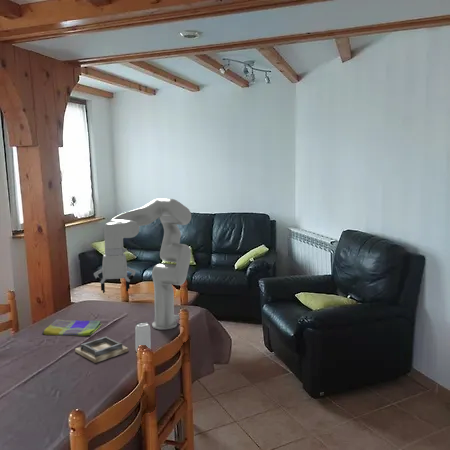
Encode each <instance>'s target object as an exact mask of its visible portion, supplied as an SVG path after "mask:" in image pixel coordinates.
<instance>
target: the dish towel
mask: <svg viewBox="0 0 450 450" xmlns="http://www.w3.org/2000/svg"><path fill="white" fill-rule="evenodd" d="M103 324H104V323H102V322H101V320H77V319H76V320H73V319H72V320H71V319H70V320H69V319H68V320H66V319H59V318H56V319H55V320H54V321H53V322H52V323H50V324H49V325H48V326H47V327H45V328H44V329H43V331H42V334H43V335H46V336H47V335H48V336H65V337H66V336H68V337H73V336H74V337H84V336H85V337H86V336H87V337H88V336H91V335H93V334H94V333H95V332H96V331H98V329H99V328H101V327H102V326H103Z"/></svg>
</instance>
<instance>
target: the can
mask: <svg viewBox="0 0 450 450" xmlns="http://www.w3.org/2000/svg"><path fill="white" fill-rule="evenodd" d="M134 333H135V337H134V338H135V344H134V345H135V351H136V352H137V348H138V346H139V345H146V346H147V347H148V348H150V349H151V348H152V347H151V346H152V345H151V337H152V336H151V326H150V322H147V321H139V322H137V323H136V324H135V329H134ZM151 350H152V349H151Z"/></svg>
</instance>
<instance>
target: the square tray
mask: <svg viewBox="0 0 450 450" xmlns="http://www.w3.org/2000/svg"><path fill="white" fill-rule="evenodd" d="M74 349H75V350H74V352H75V353H76V354H78V355H79V356H82V357H83V358H85V359H87V360H89V361H91V362H93V363H95V364H96V363H99V362H103V361H105V360H107V359H111V358H114V357H116V356H119V355H122V354H125V353H128V352H129V347H126V346H125V345H123V343H122V342H119V341H116V340H115V339H112V338H110V337H109V336H108V335H107V336H103V337H99V338H97V339H94V340H90V341H87V342H84V343H80V346H79V347H76V348H74Z"/></svg>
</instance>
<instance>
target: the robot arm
mask: <svg viewBox="0 0 450 450" xmlns="http://www.w3.org/2000/svg"><path fill="white" fill-rule="evenodd" d="M158 219H159V220H160V222H161V225H162V228H163V237H162V241H161V242H162V243H161V247H160V250H159V257H160V260H162V261H164V262H167V263H157V264H155V265H154V266H153V268H152V270H151V277H152V281H153V282H152V283H153V289H154V291H153V293H154V297H153V298H154V321H153V322H151V327H152V328H153V329H155V330H160V331H161V330H162V331H165V330H172V329H175V328H176V327H177V326H178V322H177V320H179V319H180V318H179V314H175V301H174V300H175V298H174V296H175V295H174V287H173V285H174V286H181V285H183V284H184V283H185V282H186V280H187V276H188V272H189V267H190V263H191V259H192V251H191V248H190V247H189V245H187V244H185V243H181V238H182V234H181V230H180V228H179V226H185V225H188V224H189V223H190V222H191V221H192V212H191V210H190V209H189V208H188V206H186V205H184V204H183V203H182V202H180V201H178V200H176V199H174V198H163V197H157V198H154V199H152V200H151V201H149V202H147V203H146V204H144V205H143V206H141V207H138V208H135V209H132V210H129V211H125V212H123V213H120V214H117V215H116V216H114V217H113V218H112V219H110V220H109V221H108V222H106V223H105V224H104V226H103V229H104V230H103V233H104V234H103V235H104V238H103V239H104V254H103V255H102V267H101V268H100V269H98V270H97V271H95V272H93V277H94V278H95V280H97V281H98V282H99V283H100V290H101V291H102V294H105V293H106V290H105V289H106V288H105V287H106V286H105V281H106V280H115V279H116V280H117V279H124V280H125V290H126V291H125V292H129V289H131V285H130V284H131V283H130V282H131V281H132V280H133V279H134V277H135V275H136V272H137V271H136V270H135V269H132V268H130V267H129V266H128V263H127V261H128V260H127V256H126V254H125V253H126V252H128V249H127V248H125V247H124V239H132V238H135V237H136V236H137V235H138V234H139V232H140V227H141V226H142V227H143V226H148V225H150V224H152V223H153V222H155V221H156V220H158ZM178 225H179V226H178ZM169 262H170V263H176V264H169ZM128 272H129V273H131V274H130V275H129V276H128ZM101 273H102V277H100V276H99V275H100V274H101Z"/></svg>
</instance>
